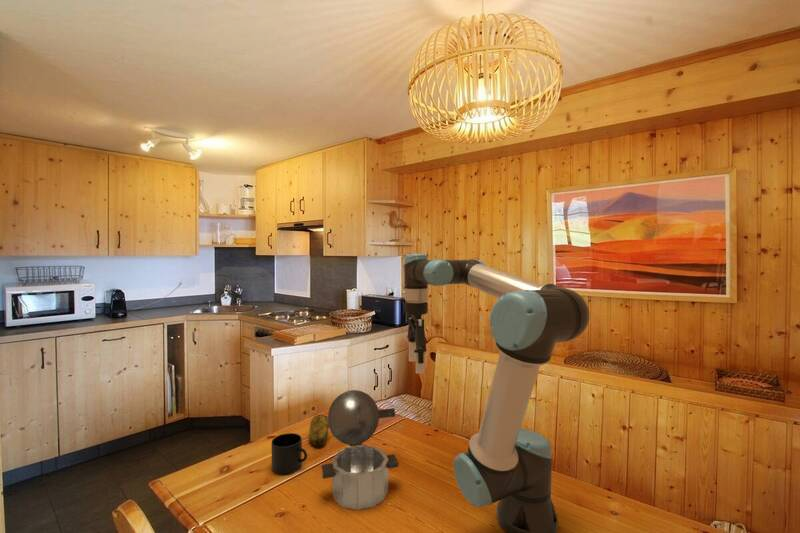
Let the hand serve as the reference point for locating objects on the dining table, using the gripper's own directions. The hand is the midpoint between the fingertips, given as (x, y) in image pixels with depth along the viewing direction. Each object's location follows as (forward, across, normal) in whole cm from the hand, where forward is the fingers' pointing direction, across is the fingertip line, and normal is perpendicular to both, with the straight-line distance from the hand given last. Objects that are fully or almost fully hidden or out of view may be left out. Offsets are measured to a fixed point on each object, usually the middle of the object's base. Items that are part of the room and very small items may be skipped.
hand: (416, 366), depth 122 cm
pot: (+33, +9, -19) cm, 39 cm away
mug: (+33, -6, -41) cm, 53 cm away
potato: (+33, -23, -33) cm, 52 cm away
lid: (+16, -3, -17) cm, 24 cm away
